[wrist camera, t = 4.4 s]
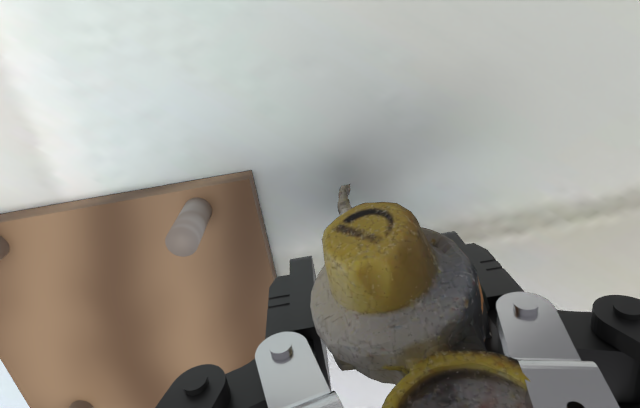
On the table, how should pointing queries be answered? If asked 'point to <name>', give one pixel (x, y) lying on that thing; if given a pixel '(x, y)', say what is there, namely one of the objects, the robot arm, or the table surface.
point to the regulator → (409, 312)
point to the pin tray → (132, 291)
